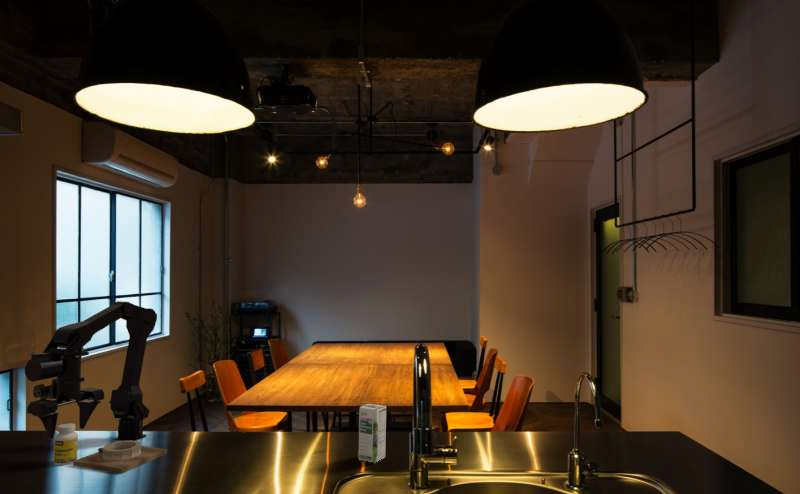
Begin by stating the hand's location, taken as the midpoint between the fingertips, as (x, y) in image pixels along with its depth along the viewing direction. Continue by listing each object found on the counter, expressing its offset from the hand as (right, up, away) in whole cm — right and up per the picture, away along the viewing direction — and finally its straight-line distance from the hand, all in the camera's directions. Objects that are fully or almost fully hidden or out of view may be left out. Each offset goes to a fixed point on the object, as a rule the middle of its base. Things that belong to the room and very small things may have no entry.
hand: (66, 433), depth 146 cm
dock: (+14, -8, +2) cm, 16 cm away
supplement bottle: (0, -8, 0) cm, 8 cm away
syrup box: (+81, -9, +5) cm, 82 cm away
